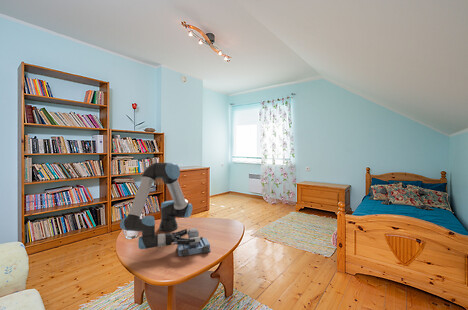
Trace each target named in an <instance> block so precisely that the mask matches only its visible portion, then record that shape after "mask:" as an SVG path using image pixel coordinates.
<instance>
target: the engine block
mask: <svg viewBox="0 0 468 310" xmlns="http://www.w3.org/2000/svg"><path fill="white" fill-rule="evenodd" d="M187 230H188V229H187ZM199 234H200V233H199V230H198V229H197V227H192V228H189V230H188V236H187V239H190V238H194V237H200V235H199ZM188 247H189V249H191V248H197V247H199V242H192V243H190V245H188Z"/></svg>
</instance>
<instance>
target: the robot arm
mask: <svg viewBox="0 0 468 310" xmlns="http://www.w3.org/2000/svg"><path fill="white" fill-rule="evenodd" d="M180 171H181V168H180V166H179V165H178V164H177V163H174V162H153V163H151V164H150V165H148V167H146V169H145V170H144V171H143V173H142V175H141V178H140V181H141V182H140V184H139V186H138V189H137V191H136V194H135V197H134V199H133V202H132V203H131V207H130V209H129V212H128V215H127V216H126V217H123V218H122V219H121V221H120V223H119V227H120V229H121V230H122V231H127V232H128V231H130V232H140V233H141V236H139V237H138V241H137V243H138V246H137V247H138V250H148V249H153V248H161V247H165V246H166V247H167V246H171V245H172V244H173V245H176V246H177V245H178V244H180V245H190V243H192V242H199V241H200V237H201V236H199V237H194V238H190V239H188V237H187V238H186V237H184V236H185V235H188V229H187V228H185V229H182V230H179V231H177V229H178V228H179V227H178V226H179V225H178V221H177V218H183V219H186V218H187V219H188V218H190V217H191V216H192V213H193V204H192V203H189V201H188V199H186V198H185V196H184V193H183V191H182V188H181V185H180V182H179V178H180V174H181V172H180ZM159 179H161V180H162V182H163V184H165V185H166V187H167V189H168V192H169V194H170V196H171V198H172V200H166V201H163V202H161V205H160V215H161V216H160V223H159V225H158V229H159V231H160V232H166V233H158V234H157V233H156V220H155V217H154V215H144V216H143V217H142V218H141V215H142V213H143V210H144V207H145V204H146V202H147V199H148V197H149V194H150V191H151V188H152V186H153V184H155V182H156V180H159ZM175 230H176V231H175ZM173 231H175V232H173Z"/></svg>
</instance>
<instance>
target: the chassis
mask: <svg viewBox="0 0 468 310" xmlns="http://www.w3.org/2000/svg"><path fill="white" fill-rule="evenodd" d="M199 237H200V241H199V247H197V248H191V249H189V247H188V245H180V244H177V245H176V246H177V253H178V257H183V258H184V257H188V256H192V255H197V254H202V253H203V254H208V253H209V252H211V243H210V242H209V240H208V238H207V237H203V236H199Z"/></svg>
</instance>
